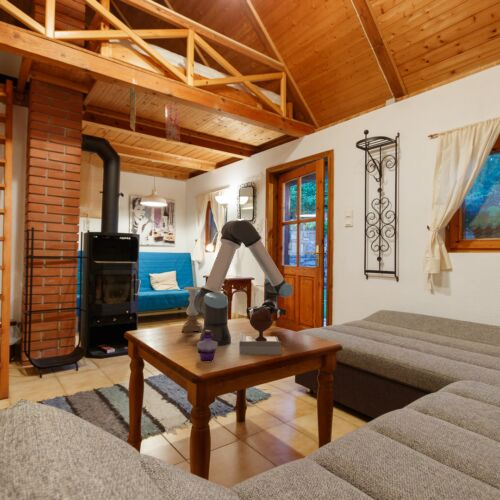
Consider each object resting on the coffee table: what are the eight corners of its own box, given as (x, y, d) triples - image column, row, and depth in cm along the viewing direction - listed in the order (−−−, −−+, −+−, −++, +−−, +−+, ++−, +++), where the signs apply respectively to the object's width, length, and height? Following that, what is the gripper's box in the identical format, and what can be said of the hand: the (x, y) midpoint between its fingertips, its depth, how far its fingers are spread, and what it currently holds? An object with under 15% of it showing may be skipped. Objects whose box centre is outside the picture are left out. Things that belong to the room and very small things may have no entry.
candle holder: (183, 328, 200) (184, 286, 200) (202, 327, 201) (203, 286, 202) (181, 332, 189) (182, 288, 190) (201, 332, 191) (202, 288, 191)
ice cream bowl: (268, 336, 167) (269, 305, 167) (275, 342, 156) (275, 309, 156) (247, 337, 165) (247, 305, 165) (252, 343, 154) (252, 309, 154)
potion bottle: (195, 357, 145) (195, 328, 145) (215, 355, 147) (215, 327, 147) (198, 364, 136) (198, 333, 136) (219, 362, 139) (220, 332, 139)
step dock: (239, 354, 150) (239, 341, 150) (239, 343, 168) (239, 332, 168) (280, 354, 150) (281, 341, 150) (276, 343, 168) (277, 332, 168)
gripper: (291, 315, 189) (289, 322, 168) (246, 313, 193) (239, 320, 172) (291, 301, 189) (289, 307, 168) (246, 299, 193) (239, 305, 172)
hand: (264, 314), depth 170 cm, fingers open, 13 cm apart
